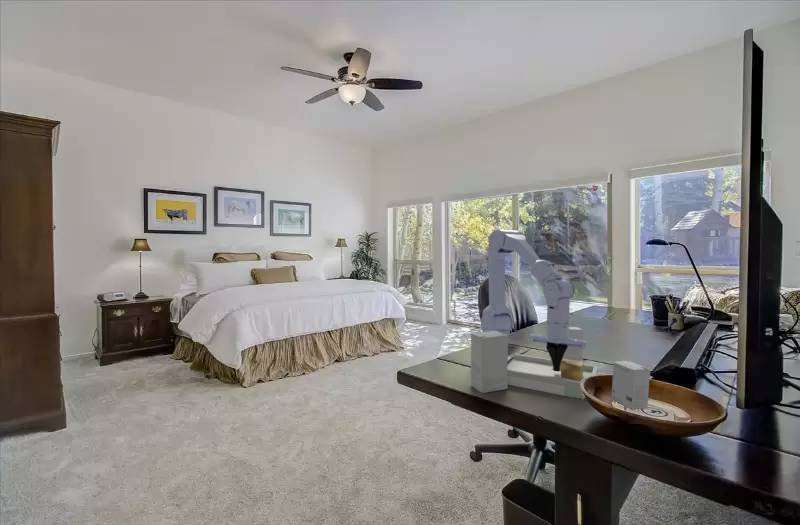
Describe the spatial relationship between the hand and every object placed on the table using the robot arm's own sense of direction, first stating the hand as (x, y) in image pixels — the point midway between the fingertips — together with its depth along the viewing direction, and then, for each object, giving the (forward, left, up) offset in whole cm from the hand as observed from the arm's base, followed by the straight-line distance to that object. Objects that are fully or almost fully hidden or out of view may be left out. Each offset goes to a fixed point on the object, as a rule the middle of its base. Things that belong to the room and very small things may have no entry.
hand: (556, 370), depth 104 cm
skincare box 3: (+17, -15, -4) cm, 23 cm away
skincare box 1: (-15, -14, -4) cm, 21 cm away
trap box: (-2, 0, -3) cm, 4 cm away
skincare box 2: (+1, +22, -4) cm, 22 cm away
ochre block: (+4, 0, -1) cm, 4 cm away
